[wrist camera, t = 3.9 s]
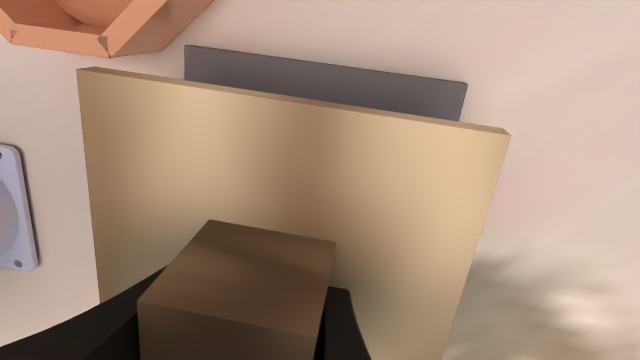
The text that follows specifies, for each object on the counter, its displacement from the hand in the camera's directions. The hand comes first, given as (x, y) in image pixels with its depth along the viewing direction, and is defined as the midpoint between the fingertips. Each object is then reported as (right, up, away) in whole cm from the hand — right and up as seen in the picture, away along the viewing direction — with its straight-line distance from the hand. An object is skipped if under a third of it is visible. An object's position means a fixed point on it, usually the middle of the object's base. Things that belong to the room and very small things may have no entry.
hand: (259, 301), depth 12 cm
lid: (0, +1, +2) cm, 2 cm away
